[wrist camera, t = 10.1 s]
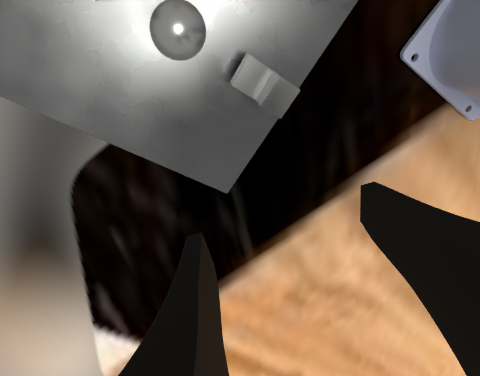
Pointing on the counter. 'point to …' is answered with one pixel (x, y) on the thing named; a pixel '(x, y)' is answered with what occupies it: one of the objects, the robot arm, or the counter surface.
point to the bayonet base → (166, 72)
